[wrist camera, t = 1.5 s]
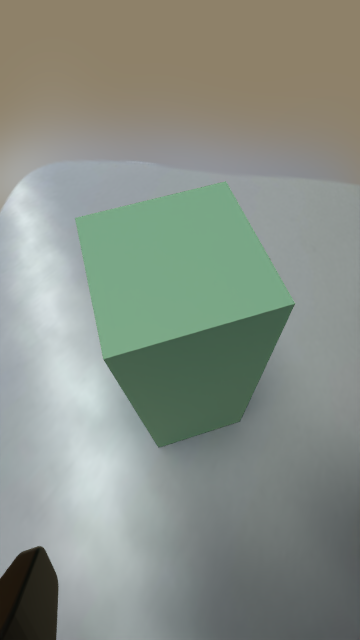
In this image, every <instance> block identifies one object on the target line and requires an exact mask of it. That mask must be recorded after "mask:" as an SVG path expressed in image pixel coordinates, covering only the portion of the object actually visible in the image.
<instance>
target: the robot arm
mask: <svg viewBox="0 0 360 640" xmlns="http://www.w3.org/2000/svg"><path fill="white" fill-rule="evenodd" d="M57 610H58V578H57V575H56V572H55V570H54V568H53V566H52V564H51V561H50V559H49V557H48V555H47V553H46V551H45V549H44V548H43V547H41V546H37V547H34V548H32V549H29V550H26V551H23V552H21V553H20V554H19V555H18V556H17V557H16V558H15V560H14V561H13V562H12V564H11V565H10V566H9V568H8V569H7V570H6V572H5V573H4V574H3V576H2V577H1V578H0V640H56V633H57Z"/></svg>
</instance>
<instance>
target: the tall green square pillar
mask: <svg viewBox="0 0 360 640" xmlns="http://www.w3.org/2000/svg"><path fill="white" fill-rule="evenodd" d="M75 220H76V225H77V230H78V235H79V240H80V245H81V250H82V255H83V260H84V265H85V270H86V275H87V280H88V285H89V290H90V295H91V300H92V305H93V310H94V315H95V320H96V325H97V330H98V335H99V340H100V345H101V350H102V355H103V359H104V361H105V363H106V364H107V366H108V367H109V369H110V371H111V372H112V374H113V375H114V377H115V379H116V380H117V382H118V383H119V385H120V387H121V388H122V390H123V391H124V393H125V395H126V396H127V398H128V399H129V401H130V403H131V404H132V406H133V408H134V409H135V411H136V412H137V414H138V416H139V417H140V419H141V420H142V422H143V424H144V425H145V427H146V428H147V430H148V432H149V433H150V435H151V436H152V438H153V440H154V441H155V443H156V444H157V446H158V448H159V447H162V446H165V445H169V444H172V443H175V442H178V441H181V440H184V439H187V438H190V437H193V436H196V435H199V434H202V433H206V432H209V431H212V430H215V429H218V428H221V427H224V426H227V425H230V424H233V423H236V422H240V420H241V418H242V416H243V414H244V412H245V409H246V407H247V405H248V403H249V401H250V399H251V397H252V394H253V392H254V390H255V388H256V386H257V384H258V382H259V379H260V377H261V375H262V373H263V371H264V369H265V367H266V365H267V362H268V360H269V358H270V356H271V354H272V352H273V350H274V347H275V345H276V343H277V341H278V339H279V337H280V335H281V333H282V330H283V328H284V326H285V324H286V322H287V320H288V318H289V315H290V313H291V311H292V309H293V307H294V305H295V303H294V301H293V299H292V297H291V296H290V294H289V292H288V290H287V288H286V287H285V285H284V283H283V281H282V280H281V278H280V276H279V274H278V273H277V271H276V269H275V267H274V266H273V264H272V262H271V260H270V258H269V257H268V255H267V253H266V251H265V250H264V248H263V246H262V244H261V243H260V241H259V239H258V237H257V236H256V234H255V232H254V230H253V228H252V227H251V225H250V223H249V221H248V220H247V218H246V216H245V214H244V213H243V211H242V209H241V207H240V206H239V204H238V202H237V200H236V198H235V197H234V195H233V193H232V191H231V190H230V188H229V186H228V184H227V183H226V182H221V183H217V184H213V185H209V186H205V187H201V188H197V189H193V190H189V191H184V192H180V193H176V194H172V195H168V196H164V197H160V198H156V199H152V200H147V201H143V202H139V203H135V204H131V205H127V206H123V207H119V208H115V209H110V210H106V211H102V212H98V213H94V214H90V215H86V216H82V217H78V218H75Z"/></svg>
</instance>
